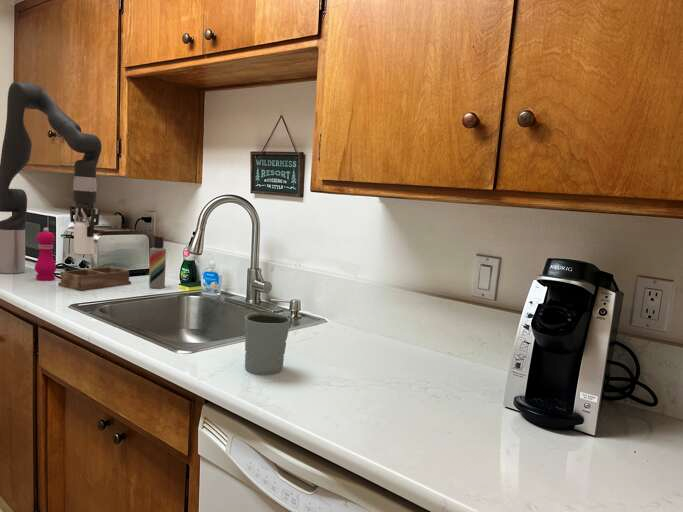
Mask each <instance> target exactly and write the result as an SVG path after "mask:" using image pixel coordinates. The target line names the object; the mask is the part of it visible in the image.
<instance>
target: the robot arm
mask: <svg viewBox="0 0 683 512" xmlns="http://www.w3.org/2000/svg"><path fill="white" fill-rule="evenodd" d="M7 92H8V93H7V103H6V106H7V108H6V120H5V121H6V122H5V128H4V129H5V130H4V136H3V141H2V147H1V155H0V213H1V212H2V213H12V215H11V216H9V217H8V218H5V219H2V220H0V274H21V273H25V272H26V224H27V214H28V213H27V212H28V211H27V209H28V196H27V193H26V192H25V190H23V189H22V188H21V189H20V188H10V185H11V184H12V181H13V180H14V178H15V177H16V176H17V175H18V174H19V173H20V172H21V171H22V170H23V169H24V168H25V167H26V166H27V164H28V163H29V161H30V158H31V154H32V148H33V147H32V145H33V143H32V140H31V137H30V135H29V133H28V131H27V128H26V126H25V122H24V120H25V119H24V117H25V116H24V115H25V110H27V109H28V110H37V111H40V113H43V114H44V115H45V116H47V120H48V123H49V126H50V127H51V128H52V129H53V130H54V132H56V133H57V134H58V135H60V136H61V137H62V138H63V139H64V141H65V142H66V144H67V145H68V147H69V148H70V149H71V150H73V151H74V152H76V153H80V154H83V157H82V158H81V159H77V160H76V161H75V162H74V167H73V168H74V169H73V170H74V173H73V174H74V176H73V182H72V183H73V187H72V201H73V203H75V205H70V206H69V214H70V215H69V217H70V223H73V225H75V223H76V221H79V220H81V221H86V223H87V226H88V227H87V237H93V236H95V227H96V226H99V224H100V213H101V212H100V211H101V210H100V208H95V207H94V204H97V191H98V190H97V189H98V188H97V186H98V185H97V165H98V162H99V159H100V156H101V152H102V147H103V145H102V141H101V139H100V138H99V136H98V135H95V134H91V133H85V132H82V128H81V126H80V125H79V124H78V123H77V122H76V121H75V120H74V119H72V118H71V116H69V115H67V114H66V113H65V111H63V109H61V108H60V107H59V106H58V104H57V103H56V102H55V101H54V99H53V98H52V97H51V96H50V95H49V94H48V92H47V91H46V90H45V89H44V88H43V87H42V86H40V85H38V84H36V83H33V82H32V83H31V82H26V81H25V82H24V81H13V82H11V84H10V85H9V88H8V91H7ZM90 221H91V223H90Z"/></svg>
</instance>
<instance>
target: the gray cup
mask: <svg viewBox="0 0 683 512" xmlns="http://www.w3.org/2000/svg"><path fill="white" fill-rule="evenodd" d="M290 323H291V318H290V317H288V316H285V315H283V314H279V313H271V312H256V313H255V312H253V313H249V314H246V315H245V316H244V336H245V341H244V346H245V347H244V348H245V349H244V351H245V355H244V369H245V371H246V372H248V373H249V374H253V375H259V376H272V375H276V374H279V373H280V372H282V370H283V368H284V367H283V366H284V358H285V353H286V346H287V342H286V341H287V340H288V339H287V338H288V334H289V328H290Z"/></svg>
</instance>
